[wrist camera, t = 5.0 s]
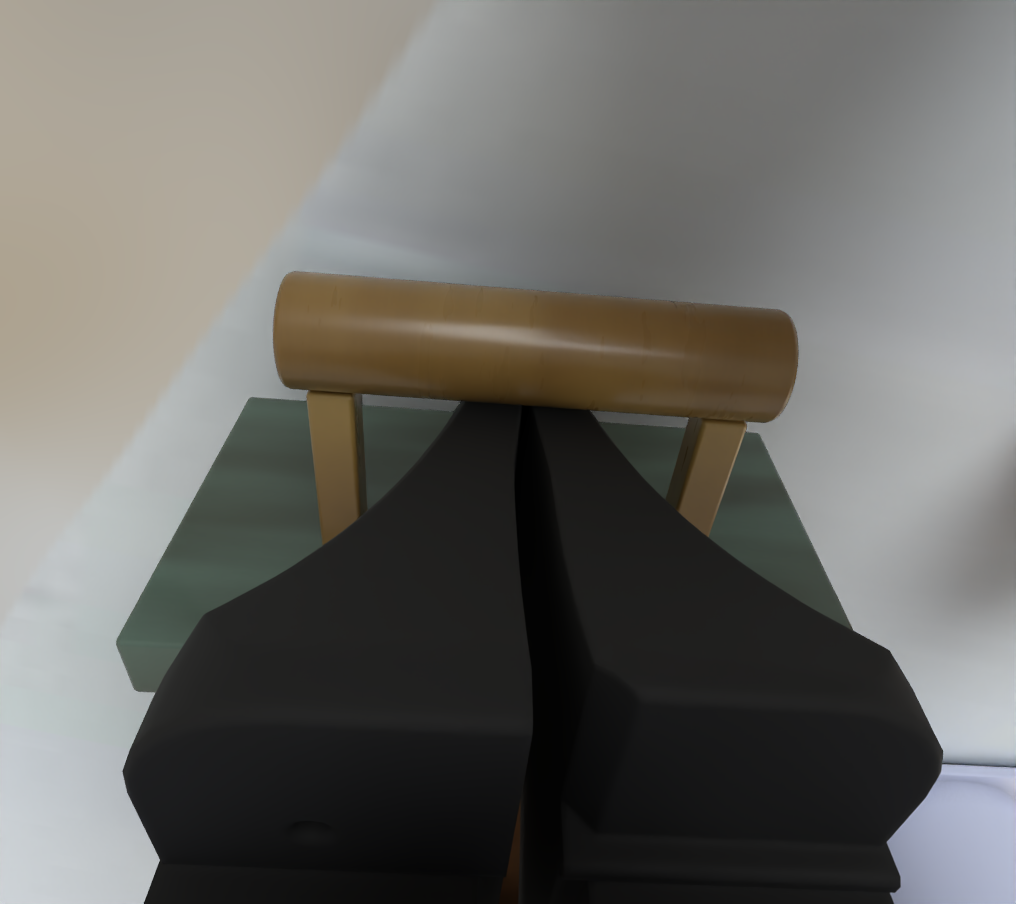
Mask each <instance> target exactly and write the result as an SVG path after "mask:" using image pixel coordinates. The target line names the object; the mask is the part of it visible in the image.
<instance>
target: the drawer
mask: <svg viewBox="0 0 1016 904" xmlns="http://www.w3.org/2000/svg"><path fill="white" fill-rule="evenodd" d="M273 348H274V357H275V363H276V367H277V371H278V374H279V377H280V380H281V381H282V383H283V384H284V385H285V386H286V387H288V388H291V389H302V390H308V392H307V395H306V398H307V401H297V400H283V399H269V398H255V397H252V398H249V400H248V401H247V403H246V405H245V407H244V409H243V410H242V412H241V414H240V416H239V418H238V420H237V421H236V423H235V425H234V427H233V429H232V431H231V432H230V434H229V436H228V438H227V440H226V441H225V443H224V445H223V447H222V449H221V451H220V452H219V454H218V456H217V458H216V460H215V461H214V463H213V465H212V467H211V469H210V471H209V472H208V474H207V476H206V478H205V480H204V482H203V483H202V485H201V487H200V489H199V491H198V492H197V494H196V496H195V498H194V500H193V502H192V503H191V505H190V507H189V509H188V511H187V512H186V514H185V516H184V518H183V520H182V522H181V523H180V525H179V527H178V529H177V531H176V533H175V534H174V536H173V538H172V540H171V542H170V543H169V545H168V547H167V549H166V551H165V553H164V554H163V556H162V558H161V560H160V562H159V563H158V565H157V567H156V569H155V571H154V573H153V574H152V576H151V578H150V580H149V582H148V584H147V585H146V587H145V589H144V591H143V593H142V594H141V596H140V598H139V600H138V602H137V604H136V605H135V607H134V609H133V611H132V613H131V614H130V616H129V618H128V620H127V622H126V624H125V625H124V627H123V629H122V631H121V633H120V635H119V636H118V638H117V641H116V646H117V648H118V650H119V653H120V655H121V658H122V660H123V663H124V665H125V668H126V670H127V673H128V675H129V678H130V680H131V683H132V685H133V688H134V690H136V691H138V692H154V693H156V691H157V689H158V687H159V685H160V683H161V681H162V679H163V677H164V676H165V674H166V672H167V671H168V669H169V667H170V666H171V664H172V663H173V661H174V660H175V658H176V656H177V655H178V653H179V651H180V650H181V648H182V647H183V645H184V643H185V642H186V640H187V639H188V637H189V636H190V634H191V633H192V631H193V630H194V628H195V626H196V625H197V623H198V622H199V620H200V619H201V617H202V616H203V615H204V614H205V613H207V612H209V611H211V610H213V609H215V608H217V607H219V606H221V605H223V604H225V603H227V602H229V601H231V600H233V599H234V598H236V597H238V596H240V595H242V594H244V593H246V592H247V591H249V590H251V589H253V588H255V587H257V586H259V585H260V584H262V583H264V582H266V581H268V580H270V579H272V578H273V577H275V576H277V575H279V574H280V573H282V572H284V571H285V570H287V569H289V568H290V567H292V566H293V565H295V564H296V563H298V562H299V561H301V560H302V559H303V558H305V557H306V556H308V555H309V554H311V553H312V552H314V551H315V550H317V549H318V548H320V547H321V546H322V545H324V544H325V543H327V542H328V541H330V540H331V539H333V538H334V537H335V536H337V535H338V534H339V533H341V532H342V531H343V530H344V529H346V528H347V527H348V526H350V525H351V524H352V523H353V522H354V521H356V520H357V519H358V518H359V517H360V516H361V515H363V514H364V513H365V512H366V511H367V510H368V509H370V508H371V507H372V506H373V505H374V504H375V503H376V502H378V501H379V500H380V499H381V498H382V497H383V496H384V495H385V494H386V493H387V492H388V491H389V490H390V489H391V488H392V487H393V486H394V485H395V484H396V483H397V482H398V481H399V480H400V479H401V478H402V477H403V476H404V475H405V474H406V473H407V472H408V471H409V470H410V469H411V468H412V466H413V465H414V464H415V463H416V462H417V461H418V460H419V458H420V457H421V456H422V455H423V453H424V452H425V451H426V450H427V448H428V447H429V446H430V445H431V443H432V442H433V441H434V440H435V439H436V437H437V436H438V435H439V433H440V432H441V431H442V429H443V428H444V426H445V425H446V423H447V422H448V420H449V419H450V417H451V416H452V414H453V413H454V412H452V411H438V410H424V409H410V408H396V407H382V406H368V405H362V394H371V395H385V396H399V397H413V398H427V399H441V400H454V401H468V402H482V403H496V404H510V405H524V406H538V407H552V408H566V409H580V410H593V411H607V412H621V413H635V414H649V415H663V416H677V417H689V420H688V423H687V427H686V428H677V427H663V426H649V425H635V424H620V423H606V422H599V424H600V425H601V426H602V428H603V429H604V430H605V432H606V433H607V434H608V436H609V437H610V438H611V440H612V441H613V442H614V444H615V445H616V446H617V447H618V449H619V450H620V451H621V452H622V454H623V455H624V456H625V457H626V459H627V460H628V461H629V462H630V463H631V464H632V466H633V467H634V468H635V469H636V470H637V471H638V472H639V474H640V475H641V476H642V477H643V478H644V479H645V480H646V481H647V482H648V483H649V484H650V485H651V486H652V487H653V488H654V489H655V490H656V491H657V492H658V493H659V494H660V495H661V496H662V497H663V498H664V499H665V500H666V501H667V502H668V503H669V504H670V505H672V506H673V507H674V508H675V509H676V510H677V511H678V512H679V513H680V514H681V515H682V516H683V517H684V518H686V519H687V520H688V521H689V522H690V523H692V524H693V525H694V526H695V527H696V528H697V529H699V530H700V531H701V532H702V533H703V534H705V535H706V536H707V537H709V538H710V539H711V540H713V541H714V542H715V543H716V544H718V545H719V546H720V547H722V548H723V549H724V550H726V551H727V552H728V553H729V554H731V555H732V556H733V557H735V558H736V559H737V560H739V561H740V562H742V563H743V564H744V565H746V566H747V567H749V568H750V569H752V570H753V571H755V572H756V573H757V574H759V575H760V576H762V577H763V578H765V579H766V580H768V581H769V582H771V583H773V584H774V585H776V586H777V587H779V588H780V589H782V590H784V591H785V592H787V593H788V594H790V595H791V596H793V597H795V598H796V599H798V600H799V601H801V602H802V603H804V604H806V605H807V606H809V607H811V608H812V609H814V610H816V611H818V612H820V613H822V614H823V615H825V616H827V617H829V618H831V619H833V620H834V621H836V622H838V623H840V624H842V625H844V626H845V627H847V628H849V629H851V630H853V629H852V627H851V624H850V622H849V620H848V618H847V616H846V614H845V612H844V610H843V608H842V606H841V604H840V602H839V599H838V597H837V595H836V593H835V591H834V589H833V587H832V585H831V583H830V581H829V579H828V576H827V574H826V572H825V570H824V568H823V566H822V564H821V562H820V560H819V558H818V556H817V554H816V551H815V549H814V547H813V545H812V543H811V541H810V539H809V537H808V535H807V533H806V531H805V529H804V526H803V524H802V522H801V520H800V518H799V516H798V514H797V512H796V510H795V508H794V506H793V503H792V501H791V499H790V497H789V495H788V493H787V491H786V489H785V487H784V485H783V483H782V481H781V478H780V476H779V474H778V472H777V470H776V468H775V466H774V464H773V462H772V460H771V458H770V456H769V453H768V451H767V449H766V447H765V445H764V443H763V441H762V439H761V437H760V435H759V434H757V433H747V432H745V431H746V429H747V424H746V422H760V423H766V422H769V421H772V420H774V419H776V418H777V417H778V416H779V415H780V414H781V413H782V412H783V410H784V408H785V407H786V405H787V403H788V401H789V398H790V396H791V393H792V390H793V387H794V383H795V379H796V373H797V366H798V338H797V332H796V328H795V325H794V323H793V320H792V319H791V317H790V316H789V315H788V314H787V313H785V312H783V311H781V310H777V309H765V308H752V307H740V306H727V305H714V304H702V303H689V302H677V301H664V300H652V299H639V298H626V297H614V296H601V295H589V294H576V293H564V292H551V291H538V290H526V289H513V288H501V287H488V286H476V285H463V284H450V283H438V282H425V281H413V280H400V279H388V278H375V277H362V276H350V275H337V274H325V273H312V272H300V271H294V272H291V273H288V274H287V275H286V276H285V277H284V279H283V280H282V283H281V285H280V288H279V291H278V295H277V299H276V304H275V310H274V320H273ZM745 421H746V422H745ZM520 810H521V799H520V805H519V810H518V815H517V821H516V826H515V832H514V837H513V842H512V848H511V853H510V859H509V864H508V869H507V875H506V877H503V883H502V888H501V894H500V899H499V904H518V898H519V859H520Z"/></svg>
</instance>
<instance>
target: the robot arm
mask: <svg viewBox="0 0 1016 904" xmlns="http://www.w3.org/2000/svg"><path fill="white" fill-rule="evenodd" d="M942 759H943V750H942V748H941V746H940V744H939V742H938V740H937V738H936V736H935V734H934V732H933V730H932V728H931V726H930V724H929V722H928V720H927V718H926V716H925V714H924V711H923V709H922V707H921V705H920V703H919V701H918V699H917V697H916V695H915V693H914V691H913V689H912V687H911V686H910V684H909V682H908V681H907V679H906V677H905V675H904V674H903V672H902V670H901V669H900V667H899V665H898V664H897V662H896V660H895V659H894V657H893V656H892V654H891V652H890V651H889V650H888V649H886V648H884V647H882V646H880V645H878V644H877V643H875V642H873V641H871V640H869V639H867V638H866V637H864V636H862V635H860V634H858V633H856V632H855V631H853V630H851V629H849V628H847V627H845V626H844V625H842V624H840V623H838V622H836V621H834V620H833V619H831V618H829V617H827V616H825V615H823V614H822V613H820V612H818V611H816V610H814V609H812V608H811V607H809V606H807V605H806V604H804V603H802V602H801V601H799V600H798V599H796V598H795V597H793V596H791V595H790V594H788V593H787V592H785V591H784V590H782V589H780V588H779V587H777V586H776V585H774V584H773V583H771V582H769V581H768V580H766V579H765V578H763V577H762V576H760V575H759V574H757V573H756V572H755V571H753V570H752V569H750V568H749V567H747V566H746V565H744V564H743V563H742V562H740V561H739V560H737V559H736V558H735V557H733V556H732V555H731V554H729V553H728V552H727V551H726V550H724V549H723V548H722V547H720V546H719V545H718V544H716V543H715V542H714V541H713V540H711V539H710V538H709V537H707V536H706V535H705V534H703V533H702V532H701V531H700V530H699V529H697V528H696V527H695V526H694V525H693V524H692V523H690V522H689V521H688V520H687V519H686V518H684V517H683V516H682V515H681V514H680V513H679V512H678V511H677V510H676V509H675V508H674V507H673V506H672V505H670V504H669V503H668V502H667V501H666V500H665V499H664V498H663V497H662V496H661V495H660V494H659V493H658V492H657V491H656V490H655V489H654V488H653V487H652V486H651V485H650V484H649V483H648V482H647V481H646V480H645V479H644V478H643V477H642V476H641V475H640V474H639V472H638V471H637V470H636V469H635V468H634V467H633V466H632V464H631V463H630V462H629V461H628V460H627V459H626V457H625V456H624V455H623V454H622V452H621V451H620V450H619V449H618V447H617V446H616V445H615V444H614V442H613V441H612V440H611V438H610V437H609V436H608V434H607V433H606V432H605V430H604V429H603V428H602V426H601V425H600V424H599V422H598V421H597V419H596V418H595V417H594V415H593V414H592V412H591V411H590V410H580V409H566V408H552V407H538V406H524V405H510V404H496V403H482V402H468V401H461V402H460V404H459V405H458V407H457V408H456V410H455V411H454V413H453V414H452V416H451V417H450V419H449V420H448V422H447V423H446V425H445V426H444V428H443V429H442V431H441V432H440V433H439V435H438V436H437V437H436V439H435V440H434V441H433V442H432V443H431V445H430V446H429V447H428V448H427V450H426V451H425V452H424V453H423V455H422V456H421V457H420V458H419V460H418V461H417V462H416V463H415V464H414V465H413V466H412V468H411V469H410V470H409V471H408V472H407V473H406V474H405V475H404V476H403V477H402V478H401V479H400V480H399V481H398V482H397V483H396V484H395V485H394V486H393V487H392V488H391V489H390V490H389V491H388V492H387V493H386V494H385V495H384V496H383V497H382V498H381V499H380V500H379V501H378V502H376V503H375V504H374V505H373V506H372V507H371V508H370V509H368V510H367V511H366V512H365V513H364V514H363V515H361V516H360V517H359V518H358V519H357V520H356V521H354V522H353V523H352V524H351V525H350V526H348V527H347V528H346V529H344V530H343V531H342V532H341V533H339V534H338V535H337V536H335V537H334V538H333V539H331V540H330V541H328V542H327V543H325V544H324V545H322V546H321V547H320V548H318V549H317V550H315V551H314V552H312V553H311V554H309V555H308V556H306V557H305V558H303V559H302V560H301V561H299V562H298V563H296V564H295V565H293V566H292V567H290V568H289V569H287V570H285V571H284V572H282V573H280V574H279V575H277V576H275V577H273V578H272V579H270V580H268V581H266V582H264V583H262V584H260V585H259V586H257V587H255V588H253V589H251V590H249V591H247V592H246V593H244V594H242V595H240V596H238V597H236V598H234V599H233V600H231V601H229V602H227V603H225V604H223V605H221V606H219V607H217V608H215V609H213V610H211V611H209V612H207V613H205V614H204V615H203V616H202V617H201V619H200V620H199V622H198V623H197V625H196V626H195V628H194V630H193V631H192V633H191V634H190V636H189V637H188V639H187V640H186V642H185V643H184V645H183V647H182V648H181V650H180V651H179V653H178V655H177V656H176V658H175V660H174V661H173V663H172V664H171V666H170V667H169V669H168V671H167V672H166V674H165V676H164V677H163V679H162V681H161V683H160V685H159V687H158V689H157V691H156V693H155V695H154V697H153V700H152V702H151V704H150V706H149V709H148V711H147V713H146V715H145V717H144V720H143V722H142V724H141V726H140V729H139V731H138V733H137V735H136V738H135V740H134V742H133V744H132V746H131V749H130V751H129V754H128V757H127V760H126V763H125V765H124V768H123V776H124V780H125V785H126V789H127V793H128V795H129V797H130V799H131V801H132V803H133V805H134V807H135V809H136V811H137V813H138V815H139V818H140V820H141V822H142V824H143V826H144V828H145V830H146V832H147V834H148V836H149V838H150V840H151V842H152V844H153V846H154V848H155V850H156V852H157V854H158V856H159V859H160V862H159V864H158V867H157V870H156V872H155V875H154V878H153V880H152V883H151V886H150V888H149V891H148V894H147V896H146V899H145V902H144V904H499V899H500V894H501V888H502V883H503V877H506V875H507V869H508V864H509V859H510V853H511V848H512V842H513V837H514V832H515V826H516V821H517V815H518V810H519V805H520V799H521V810H520V859H519V898H518V904H1016V768H1014V767H993V766H973V765H953V764H942Z"/></svg>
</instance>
